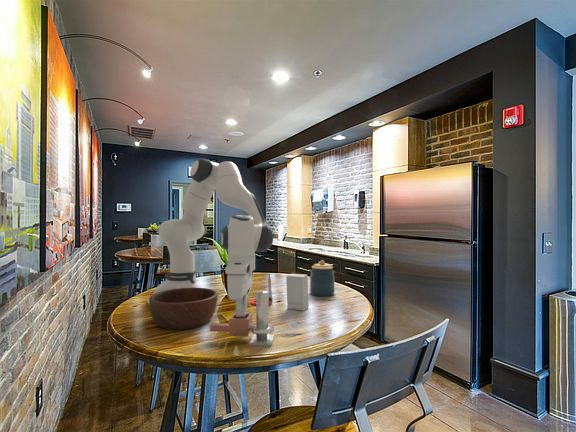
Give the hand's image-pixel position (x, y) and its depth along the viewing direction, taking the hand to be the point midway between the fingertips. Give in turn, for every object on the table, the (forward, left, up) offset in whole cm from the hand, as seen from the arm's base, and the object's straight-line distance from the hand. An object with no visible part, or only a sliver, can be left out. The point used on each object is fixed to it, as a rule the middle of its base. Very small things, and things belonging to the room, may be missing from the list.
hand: (241, 306), depth 101 cm
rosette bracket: (0, 0, -11) cm, 11 cm away
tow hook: (0, +44, -11) cm, 45 cm away
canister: (+29, +64, -11) cm, 71 cm away
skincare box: (+17, +37, -11) cm, 42 cm away
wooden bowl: (-26, +17, -11) cm, 33 cm away
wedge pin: (0, 0, -5) cm, 5 cm away
